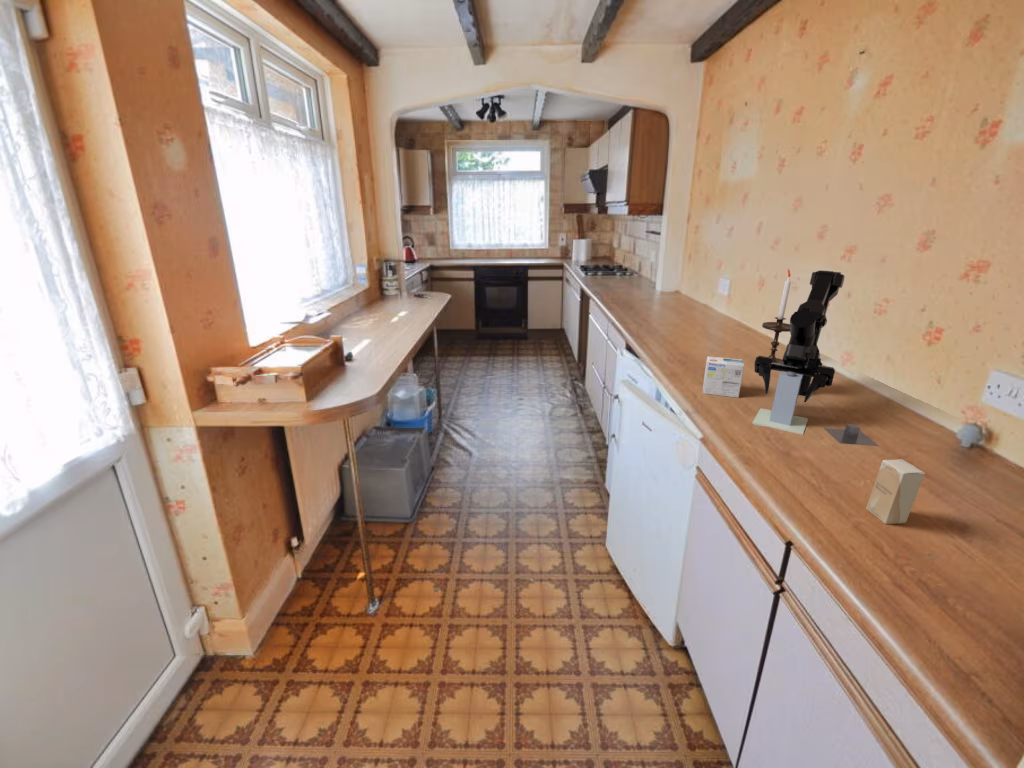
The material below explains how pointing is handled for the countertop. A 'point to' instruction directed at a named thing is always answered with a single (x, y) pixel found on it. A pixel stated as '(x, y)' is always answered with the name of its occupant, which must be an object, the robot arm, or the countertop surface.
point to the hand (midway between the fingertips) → (785, 397)
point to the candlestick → (779, 321)
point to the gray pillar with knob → (786, 397)
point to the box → (894, 491)
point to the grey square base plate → (850, 435)
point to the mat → (764, 417)
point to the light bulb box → (723, 376)
